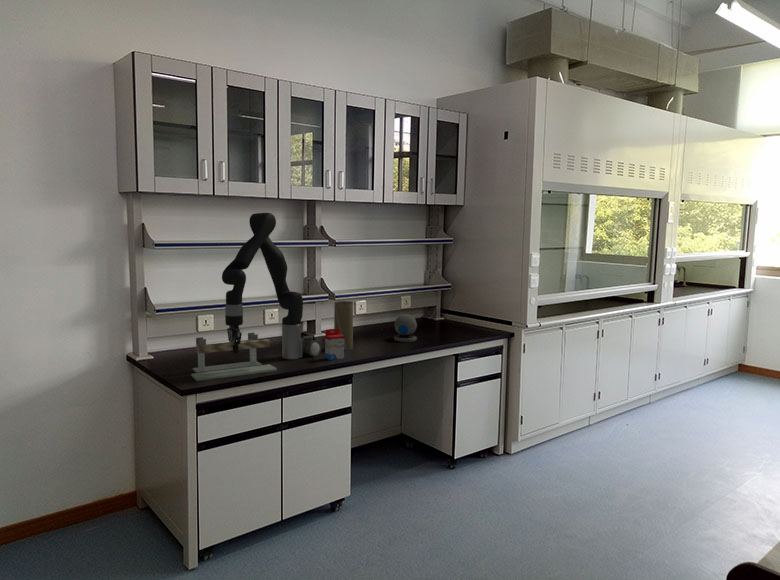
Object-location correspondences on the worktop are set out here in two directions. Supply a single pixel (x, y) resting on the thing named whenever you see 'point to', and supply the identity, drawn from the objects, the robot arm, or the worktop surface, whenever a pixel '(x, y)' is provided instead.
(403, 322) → the webcam
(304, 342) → the pipe fitting
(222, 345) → the rail
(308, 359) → the worktop surface
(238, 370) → the mat
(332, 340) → the ink box
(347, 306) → the tube
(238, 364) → the hook stand
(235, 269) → the robot arm
